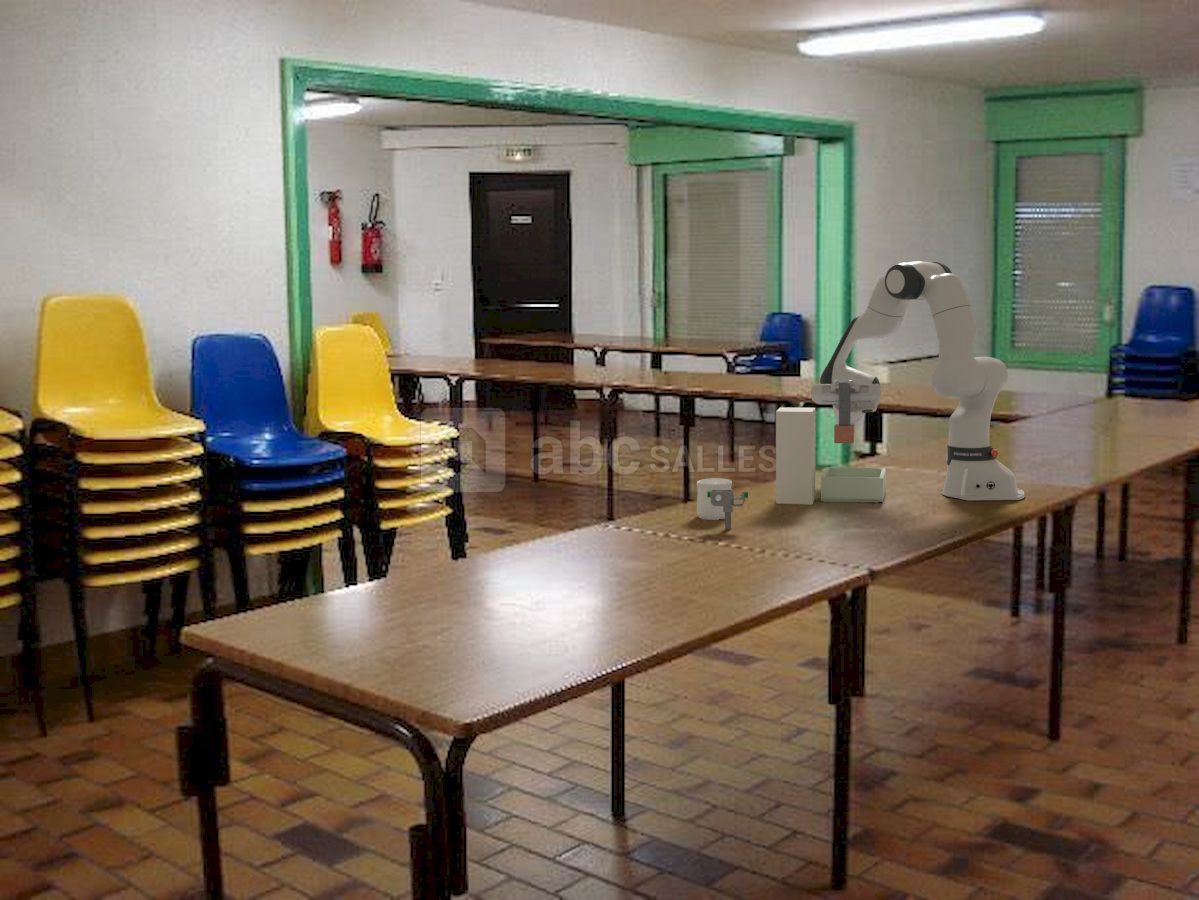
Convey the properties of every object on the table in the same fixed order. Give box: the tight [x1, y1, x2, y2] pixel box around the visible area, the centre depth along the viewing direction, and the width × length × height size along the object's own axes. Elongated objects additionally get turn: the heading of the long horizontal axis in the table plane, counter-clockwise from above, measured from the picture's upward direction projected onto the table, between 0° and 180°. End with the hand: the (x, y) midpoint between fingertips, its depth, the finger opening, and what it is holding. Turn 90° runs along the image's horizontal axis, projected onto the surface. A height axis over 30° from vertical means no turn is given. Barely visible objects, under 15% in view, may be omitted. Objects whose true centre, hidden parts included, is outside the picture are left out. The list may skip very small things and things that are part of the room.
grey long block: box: [833, 382, 856, 444], centre depth 385 cm, size 6×18×5 cm
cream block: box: [775, 406, 816, 505], centre depth 371 cm, size 10×9×26 cm
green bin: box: [820, 466, 887, 503], centre depth 377 cm, size 17×17×7 cm
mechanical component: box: [707, 489, 749, 530], centre depth 338 cm, size 3×10×10 cm, turn 79°
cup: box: [696, 477, 733, 521], centre depth 354 cm, size 10×10×10 cm
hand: (844, 382), depth 382 cm, fingers closed on grey long block, 3 cm apart
